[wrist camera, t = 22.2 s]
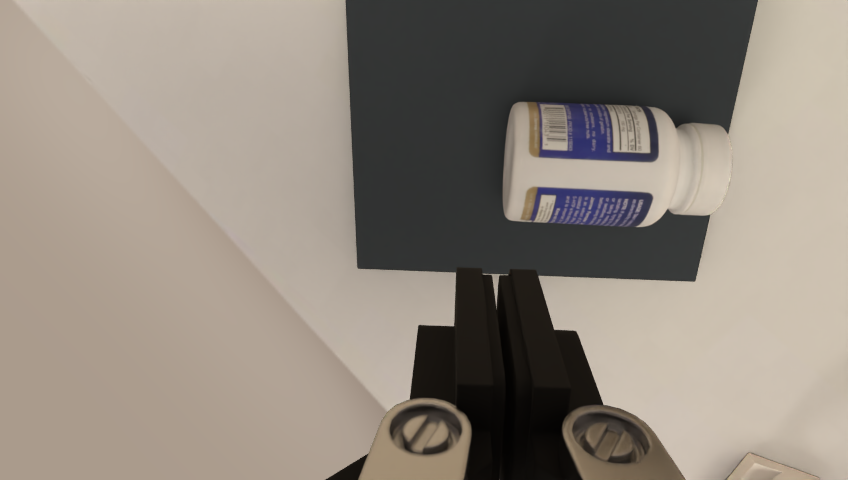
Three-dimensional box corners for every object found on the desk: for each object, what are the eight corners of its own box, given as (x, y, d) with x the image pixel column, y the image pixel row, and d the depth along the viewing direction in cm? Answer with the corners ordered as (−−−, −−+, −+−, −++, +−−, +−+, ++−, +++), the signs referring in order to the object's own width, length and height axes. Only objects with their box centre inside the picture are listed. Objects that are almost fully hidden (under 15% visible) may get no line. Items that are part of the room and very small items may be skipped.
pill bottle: (499, 201, 28) (678, 212, 28) (505, 236, 23) (723, 249, 23) (508, 94, 27) (700, 103, 26) (518, 107, 22) (754, 118, 21)
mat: (360, 261, 32) (357, 268, 31) (349, -12, 26) (344, -12, 25) (688, 273, 30) (695, 281, 30) (749, -9, 25) (760, -9, 24)
